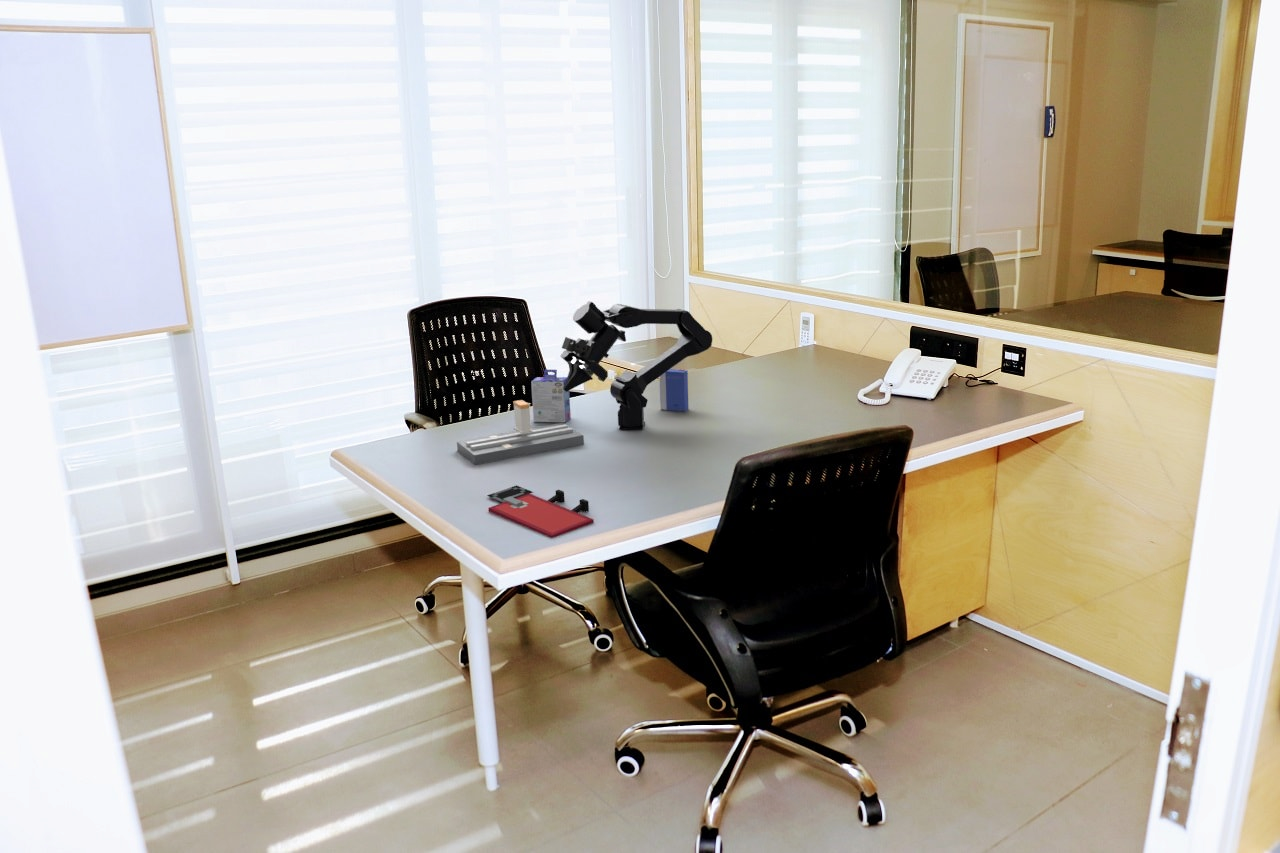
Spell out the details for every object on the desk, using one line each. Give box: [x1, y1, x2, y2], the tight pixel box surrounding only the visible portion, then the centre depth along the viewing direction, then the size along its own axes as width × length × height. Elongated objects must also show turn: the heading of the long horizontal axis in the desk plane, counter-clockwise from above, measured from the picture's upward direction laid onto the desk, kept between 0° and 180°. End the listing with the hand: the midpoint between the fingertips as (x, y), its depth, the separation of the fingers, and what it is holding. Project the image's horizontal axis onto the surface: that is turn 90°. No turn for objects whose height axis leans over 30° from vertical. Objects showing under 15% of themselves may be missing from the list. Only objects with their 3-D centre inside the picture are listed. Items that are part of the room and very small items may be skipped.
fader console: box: [456, 422, 585, 465], centre depth 272 cm, size 30×14×3 cm, turn 118°
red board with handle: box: [487, 485, 595, 539], centre depth 227 cm, size 30×3×15 cm
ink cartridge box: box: [530, 368, 572, 423], centre depth 295 cm, size 10×6×14 cm, turn 78°
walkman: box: [659, 368, 690, 412], centre depth 301 cm, size 8×3×12 cm, turn 63°
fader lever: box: [512, 399, 533, 436], centre depth 271 cm, size 3×6×9 cm, turn 28°
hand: (564, 390), depth 275 cm, fingers closed
